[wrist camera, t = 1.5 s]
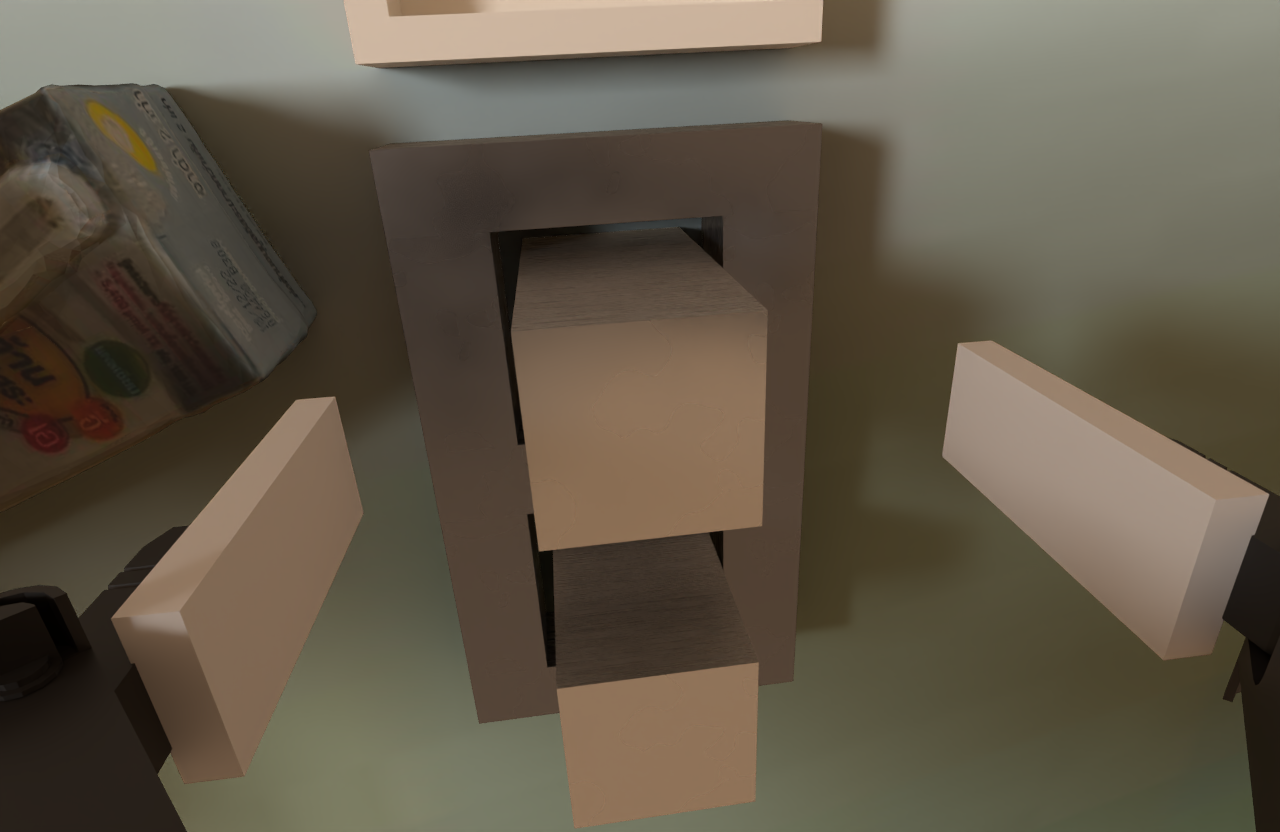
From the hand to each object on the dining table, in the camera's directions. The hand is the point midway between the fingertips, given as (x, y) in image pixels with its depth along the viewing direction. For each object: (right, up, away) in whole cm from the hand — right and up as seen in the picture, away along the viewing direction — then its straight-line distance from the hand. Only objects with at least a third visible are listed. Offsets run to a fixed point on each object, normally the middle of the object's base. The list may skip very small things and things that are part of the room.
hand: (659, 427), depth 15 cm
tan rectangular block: (-2, +4, +9) cm, 10 cm away
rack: (-1, 0, +11) cm, 11 cm away
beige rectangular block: (-1, -4, +12) cm, 13 cm away
